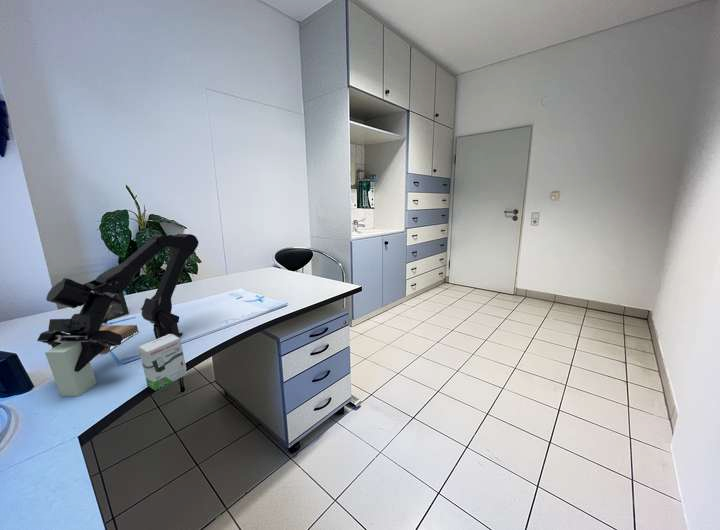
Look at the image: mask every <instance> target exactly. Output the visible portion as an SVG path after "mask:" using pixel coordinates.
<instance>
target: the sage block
mask: <svg viewBox="0 0 720 530" xmlns="http://www.w3.org/2000/svg"><path fill="white" fill-rule="evenodd" d="M81 351H82V346H81V342H63V343H62V344H60V345H58V346H56V347H54V348H52V347H51V349H48V350H47V351H45V352H44V354H45V357H46V359H47V362H48V365H49V368H50V370H51V373H52V376H53V379H54V381H55V383H56V384H55V385H56V386H57V387H56V388H57V389H58V392H59V395H60V396H61V397H80V396H81V395H83V394H84V393H85V392H86V391H88V390H89V389H91V388H92V387H94V386H95V385H96V384H97V380H96V378H95V374H94V370H93V367H92V365H91V361H90V362H89V363H88V364H87V365H86V366H85V367H83V368H82V369H81V370H80V371H79V372H76V371H74V369H75V366H76V363H77V361H78V358H79V356H80V353H81Z"/></svg>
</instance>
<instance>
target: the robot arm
mask: <svg viewBox="0 0 720 530" xmlns="http://www.w3.org/2000/svg"><path fill="white" fill-rule="evenodd" d="M198 246H199V240H198V238H197V236H196V235H194V234H191V233H181V232H180V233H176V234H174V235H164V234H153V235H152V236H151V237H150V239H149V240H148V241H146V242H145V243H144V244H143V245H142V246H140V247H139V248H138V249H137V250H136V251H135V252H133V253H132V254H130V256H128V257H127V258H126V259H125V260H124V261H122V262H121V263H119V264H118V265H116V266H113V267H111V268H108V269H107V270H105V271H104V272H102V273H101V274H98V276H97V277H96V278H95V279H93V280H91V281H88V282H85V283H83V284H82V283H79V282H76V281H75V280H73V279H71V278H67V277H63V278H62V279H61V281H59V282H58V283H56V284H55V285H54V287H51V288H50V290H49V291H48V293H47V294H46V301H47V302H49V303H53V304H56V305H59V306H63V307H66V308H69V309H70V308H71V309H76V308H78V307H81V309H80V310H79V311H80V312H79V313H74V314H73V315H72V316H71V318H50V319H49V323H48V329H47V330H45V331H43V332H40V334H39V336H38V338H37V340H36V341H37V342H40V343H45V344H47V345H48V346H49V345H50V346H51V349H52V348H54V347H56V346H58V345H60V344H62V343H63V342H81V346H82V351H81V353H80V356H79V358H78V361H77V363H76V366H75V369H74V371H76V372H79V371H80V370H81V369H82V368H83V367H85V366H86V365H87V364H88V363H89V362H90V363H91V361H92V360H93V359H95V358H96V357H97V356H98V355H100V354H99V353H100V352H102V351H103V350H104V349H107V348H108V346H107V343H108V344H109V345H111V346H116V345H119V346H120V345H121V341H122V336H121V335H120V334H117V333H115V332H112V331H109V330H100V328H101V326H103V325H106V324H108V321H109V320H106V319H105V317H106V315H107V312H108V310H109V308H110V306H111V304H112V305H113V304H118V303H121V301H120V299H119V298H118V296H117V295H113V296H110V295H107V294H104V293H107V292H108V293H112V294H117V293H121V292H123V293H124V292H125V291H126V290H127V288H128V287H129V285H131V283H132V282H133V280H134V278H135V276H136V274H137V273H138V272H139V271H140V270H141V269H142V268H143V267H145V265H147V263H149V262H150V260H152V259H153V258H154V257H156V255H158V253H160V252H161V251H162V250H163V249H164V248H166V247H168V248H170V258H169V260H168V262H167V266H166V267H165V270H164V272H163V275H162V277H161V279H160V282H159V284H158V287H157V289H156V292H155V294H154V295H153V296H152V297H151V298H145V299H144V302H143V305H142V307H141V308H140V311H141V316H142V318H143V320H145V321H148V322H149V323H150V324H153V325H152V326H153V333H154V338H155V340H156V339H158V338H161V337H163V336H166V335H168V334H173V335H176V336H177V337H179V336H180V337H181V336H183V335H184V334H183V332H180V331H179V330H180V329H179V327H178V326H179V325H178V324H179V322H180V316H178V315H177V314H174V313H172V309H173V304H172V297H173V295H174V292H175V290H176V287H177V284H178V282H179V279H180V278H181V274H182V273H183V269H184V267H185V264H186V262H187V260H188V259H189V258H190V257H191V256H192V255H193V254H194V253H195V251H196V250H197V248H198ZM91 291H94V292H98V293H100V294H96V293H93V292H91ZM180 337H179V338H180ZM77 338H78V339H77Z"/></svg>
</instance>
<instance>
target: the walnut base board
mask: <svg viewBox="0 0 720 530" xmlns="http://www.w3.org/2000/svg"><path fill="white" fill-rule="evenodd" d="M100 330H109V331H112V332H115V333H117V334H120V335H121V336H122V340H123V339H125V338H127V337H129V336H131V335H133V334H134V333H136V332H138V333H139V328H138V325H137V324H125V325H123V324H121V325H110V324H109V325H106V324H104V325H102V326H101V328H100ZM77 339H78V338H77ZM107 346H108V348H107V349H104V350H103V351H102V352H100V353H99V354H98V355H106V354H107V353H109V352H111V351H110V347H111V345H109V344H108V343H107Z"/></svg>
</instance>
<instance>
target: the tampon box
mask: <svg viewBox="0 0 720 530" xmlns="http://www.w3.org/2000/svg"><path fill="white" fill-rule="evenodd" d="M91 292H93V293H96V294H100V293H98V292H94V291H91ZM104 294H107V295H110V296H113V295H117V296H118V298H119V299H120V301H121V303H118V304H113V305H112V304H111V306H110V308H109V310H108V312H107V315H106V317H105V319H106V320H108V321H112V320H113V319H118V318H120V317H122V316H127V315H129V314H130V312H129V309H128V305H127V301H126V298H125V293H124V291H123V292H121V293H117V294H112V293H108V292H107V293H104Z"/></svg>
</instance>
